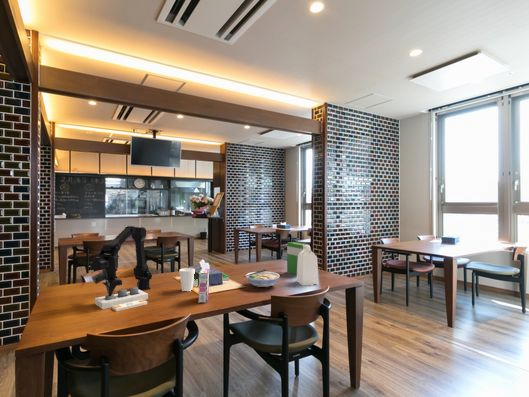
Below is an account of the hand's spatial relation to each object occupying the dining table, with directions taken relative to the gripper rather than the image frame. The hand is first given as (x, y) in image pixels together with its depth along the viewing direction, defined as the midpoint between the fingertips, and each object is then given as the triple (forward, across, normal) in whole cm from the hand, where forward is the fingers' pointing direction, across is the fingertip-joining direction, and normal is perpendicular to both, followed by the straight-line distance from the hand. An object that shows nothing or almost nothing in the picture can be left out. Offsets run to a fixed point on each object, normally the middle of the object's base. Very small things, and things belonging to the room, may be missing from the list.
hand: (109, 296), depth 164 cm
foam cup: (+4, +6, +44) cm, 44 cm away
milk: (+5, +47, +114) cm, 123 cm away
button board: (+4, 0, +6) cm, 8 cm away
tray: (+5, -6, +65) cm, 66 cm away
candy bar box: (+4, +29, +40) cm, 50 cm away
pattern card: (+4, +11, +6) cm, 13 cm away
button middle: (+2, 0, +7) cm, 7 cm away
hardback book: (+5, +26, +130) cm, 132 cm away
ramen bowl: (+4, +32, +84) cm, 90 cm away
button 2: (+2, 0, +13) cm, 13 cm away
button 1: (+4, 0, 0) cm, 4 cm away
